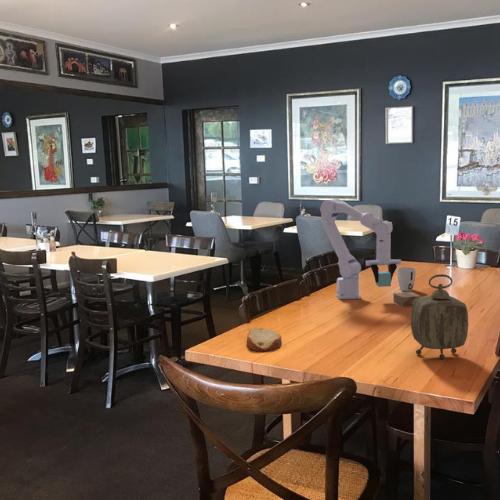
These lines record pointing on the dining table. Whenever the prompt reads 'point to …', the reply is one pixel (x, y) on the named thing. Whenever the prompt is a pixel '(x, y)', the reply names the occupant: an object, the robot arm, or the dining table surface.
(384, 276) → the teal block
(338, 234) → the robot arm
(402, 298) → the brown block
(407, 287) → the cup
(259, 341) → the slice of bread
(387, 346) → the dining table surface
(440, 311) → the tabletop clock
